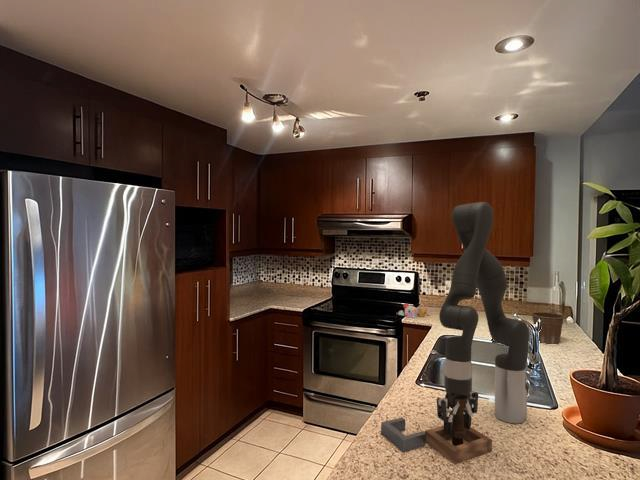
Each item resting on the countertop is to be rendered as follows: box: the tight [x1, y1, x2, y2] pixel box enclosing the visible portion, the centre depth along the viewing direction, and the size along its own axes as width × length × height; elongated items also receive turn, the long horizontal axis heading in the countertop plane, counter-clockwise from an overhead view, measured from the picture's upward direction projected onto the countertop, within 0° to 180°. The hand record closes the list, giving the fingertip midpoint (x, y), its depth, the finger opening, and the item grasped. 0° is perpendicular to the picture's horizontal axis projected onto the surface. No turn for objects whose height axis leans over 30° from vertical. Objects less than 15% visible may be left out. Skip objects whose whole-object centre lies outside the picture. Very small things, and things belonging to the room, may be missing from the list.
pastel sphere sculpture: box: [397, 302, 430, 319], centre depth 288 cm, size 25×24×9 cm
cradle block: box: [380, 416, 427, 453], centre depth 117 cm, size 8×11×4 cm
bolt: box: [451, 396, 468, 446], centre depth 113 cm, size 6×5×15 cm
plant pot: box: [531, 311, 566, 345], centre depth 220 cm, size 16×16×16 cm
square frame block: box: [424, 425, 493, 465], centre depth 113 cm, size 14×12×4 cm
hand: (457, 430), depth 113 cm, fingers open, 6 cm apart
